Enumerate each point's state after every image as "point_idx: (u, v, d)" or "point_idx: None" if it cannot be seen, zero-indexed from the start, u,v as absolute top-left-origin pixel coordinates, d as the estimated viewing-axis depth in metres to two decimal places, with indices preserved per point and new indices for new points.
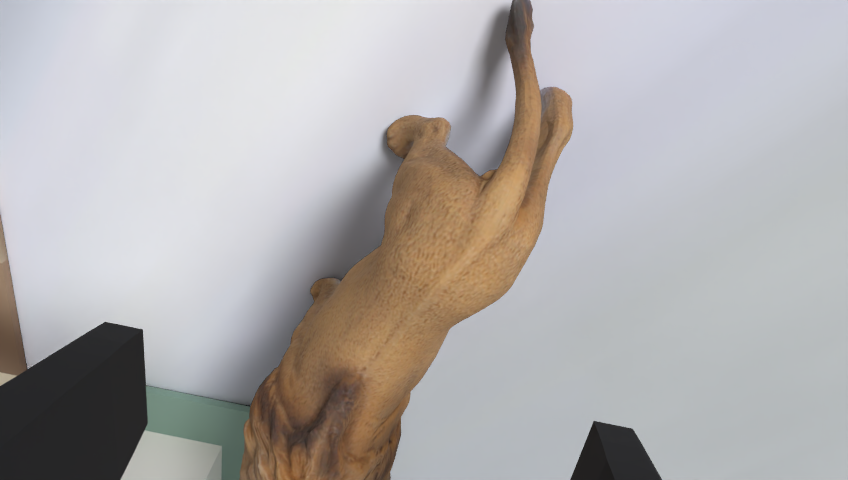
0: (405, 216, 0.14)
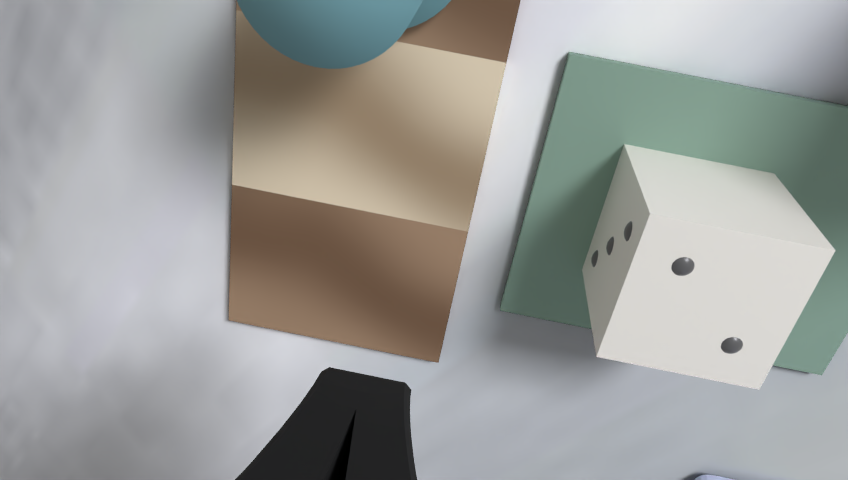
0: None
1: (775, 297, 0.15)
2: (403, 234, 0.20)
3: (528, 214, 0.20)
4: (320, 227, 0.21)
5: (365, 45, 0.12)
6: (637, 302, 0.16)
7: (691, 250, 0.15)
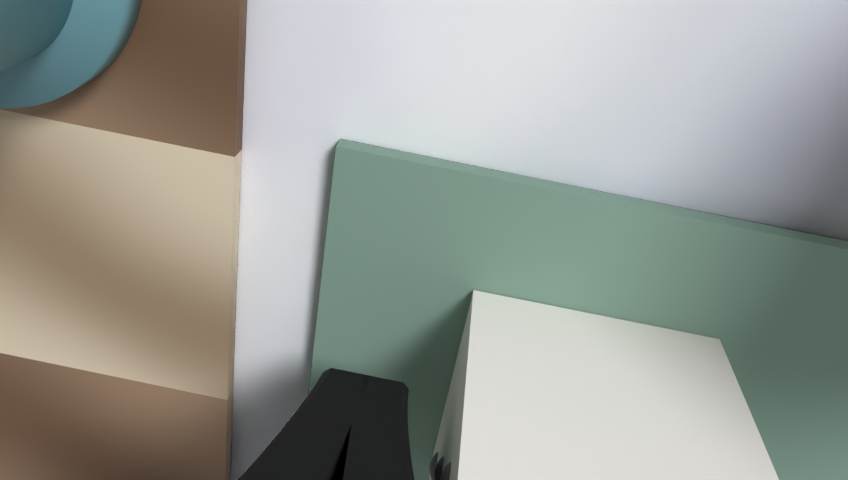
0: None
1: None
2: (133, 400, 0.13)
3: (313, 379, 0.12)
4: (10, 387, 0.13)
5: None
6: None
7: None
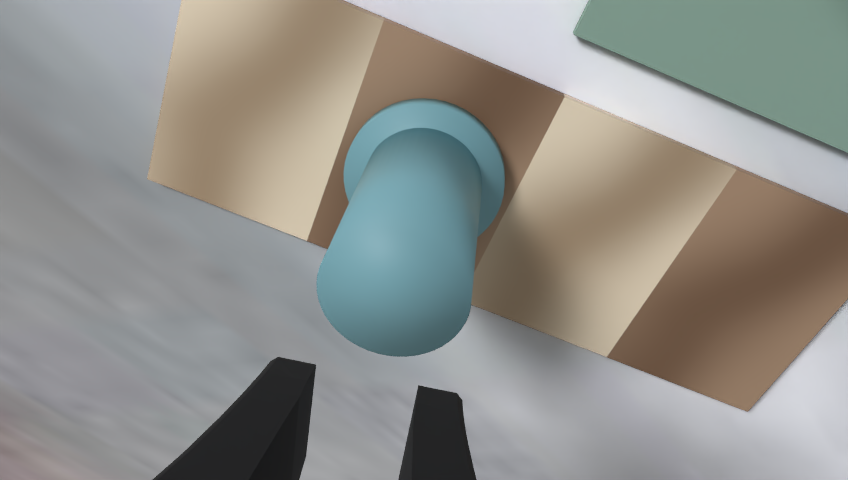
0: None
1: None
2: (714, 232, 0.19)
3: (740, 103, 0.17)
4: (677, 302, 0.20)
5: (456, 283, 0.14)
6: None
7: None
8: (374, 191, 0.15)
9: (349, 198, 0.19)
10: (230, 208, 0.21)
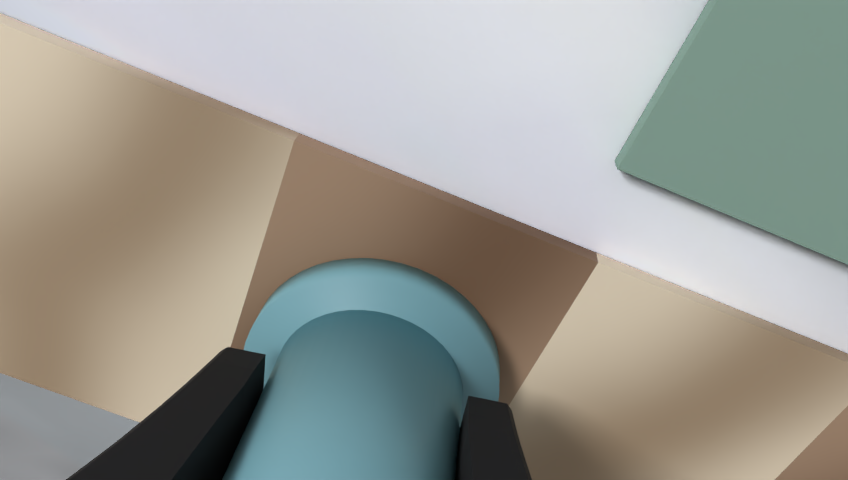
0: None
1: None
2: (832, 457, 0.12)
3: None
4: None
5: None
6: None
7: None
8: None
9: None
10: (82, 398, 0.14)
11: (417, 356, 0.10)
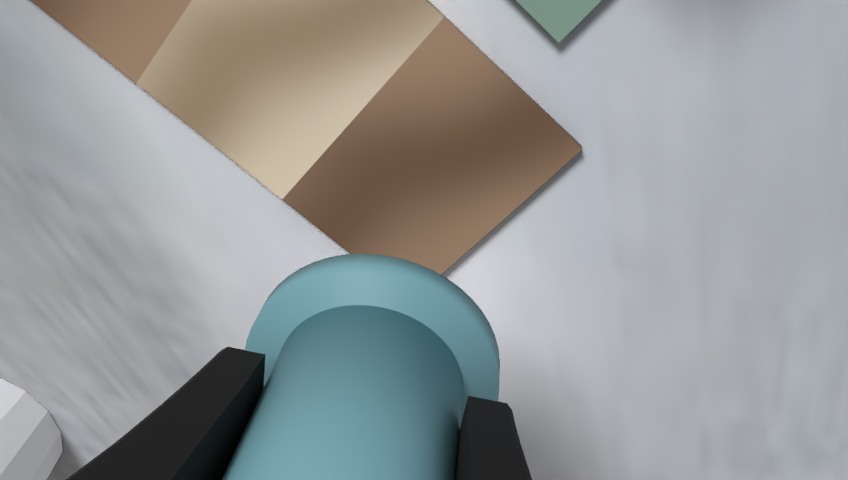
0: None
1: None
2: (410, 84, 0.18)
3: None
4: (361, 156, 0.19)
5: None
6: None
7: None
8: None
9: None
10: None
11: (414, 348, 0.11)
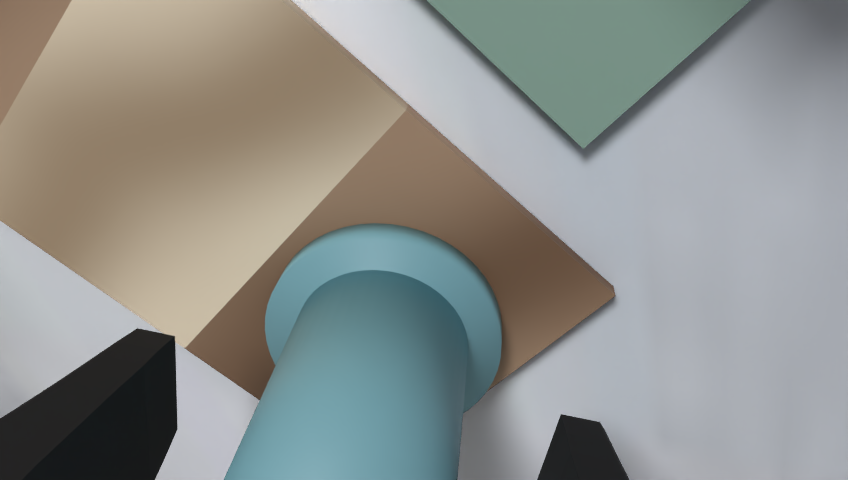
0: None
1: None
2: (360, 203, 0.12)
3: None
4: None
5: None
6: None
7: None
8: (277, 425, 0.09)
9: (277, 363, 0.13)
10: None
11: (424, 308, 0.11)
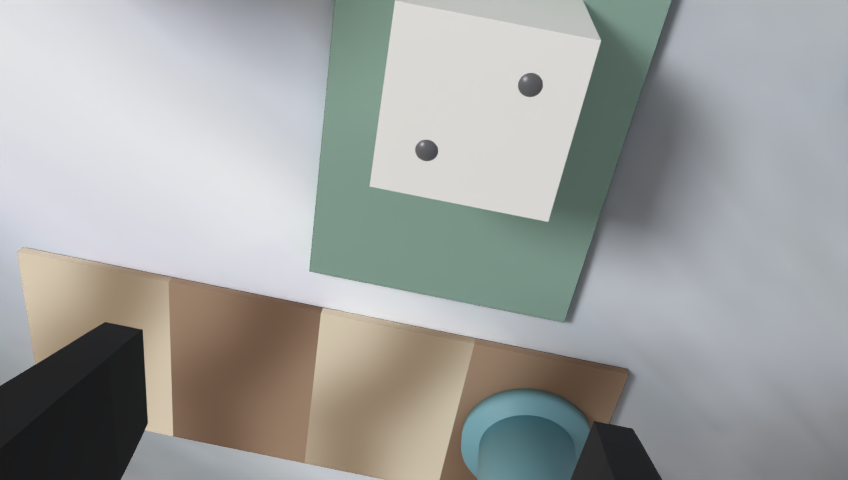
0: None
1: (460, 50, 0.14)
2: (478, 389, 0.23)
3: (454, 298, 0.21)
4: None
5: None
6: (473, 188, 0.15)
7: (406, 145, 0.15)
8: None
9: None
10: None
11: (530, 430, 0.22)
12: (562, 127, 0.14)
